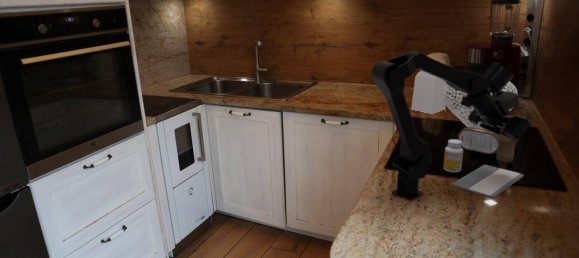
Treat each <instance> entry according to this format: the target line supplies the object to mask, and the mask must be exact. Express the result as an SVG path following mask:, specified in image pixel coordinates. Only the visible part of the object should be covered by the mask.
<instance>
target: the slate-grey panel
mask: <svg viewBox="0 0 579 258" xmlns="http://www.w3.org/2000/svg"><path fill="white" fill-rule="evenodd" d="M523 177H524V174H522V173H520V172H517V171H511V170H508V169H504V168H501V167H500V168H499V167H496V166H491V165H487V164H483V165H481V166H480V167H478V168H477V169H475V170H473V171H471V172H469V173H468V174H465V176H462V177H461V178H459V179H457V180H455V181H454V182H452V183H451V186H452V187H454V188H456V189H457V188H458V189H462V190H463V191H467V192H470V193H474V194H476V195H480V196H483V197H487V198H490V199H494V198H496V197H498V196H499V195H500V194H501V193H503V192H504V191H505V190H507V189H508V188H510V187H511V186H512V185H514V184H515V183H516V182H518V181H520V179H521V180H522V178H523Z"/></svg>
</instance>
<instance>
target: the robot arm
mask: <svg viewBox="0 0 579 258" xmlns="http://www.w3.org/2000/svg"><path fill="white" fill-rule="evenodd" d="M434 59H435V58H432V57H430V56H428V55H426V54H425V53H423V52H419V51H413V50H411V51H408V52H406V53H404V54H401V55H398V56H395V57H393V58H390V59H387V60H381V61H378V62H376V63H375V64H374V66H373V67H372V69H371V72H370V75H371V79H372V80H373V82H374V84H375V85H376V87H377V88H378V90H379V91H380V92H381V93H382V94H383V95H384V97H385V100H386V102H387V105H388V108H389V111H390V113H391V117H392V119H393V122H394V125H395V127H396V130H397V133H398V136H399V138H400V146H399V155H398V156H397V157H396V158H395V160H393V161H392V162H391V163H392V167H393V170H395V171H397V172H398V173H397V178H396V179H397V181H396V189H394V190H392V191H391V194H393V195H394V196H395V195H396V196H398V197H400V198H403V199H406V200H409V201H414V199H416V198H418V197H420V196H422V195H423V194H424V191H422V190H419V189H420V179H425V177H426V175H427V173H428V170H429V168H430V166H431V164H432V162H433V158H432V156H434V154H433V153H432V151H431V146H430V143H429V142H428V141H426V140H423V139H422V138H419V136H418V133H417V129H416V127H415V123H414V120H413V117H412V113H411V110H410V109H409V105H408V102H407V100H406V96H405V92H404V91H405V87H406V79H407V78H409V77H411V76H412V75H413V74H414V73H415V72H416V71H417V70H419V71H423V72H426V73H428V74H430V75H433V76H435V77H437V78H440V79H442V80H444V81H445V82H446V85H447V84H448V85H449V86H450V88H451V87H452V88H453V89H455V91H460V92H463V93H467V95H466V94H465V95H466V96H465V95H462V96H463V97H462V99H461V100H462V101H461V103H460V104H461V105H463V106H466V107H465V108H468V109H469V108H470V107H471V106H473V109H474V110H473V111H470V112H469V113H470V114H469V116H468V119H467V120H469V121H470V122H471V123H472V124H475V125H478V122H480V123H481V124H480V123H479V124H480V126H479V125H478V126H479V127H482V128H484V129H485V130H489V131H491V132H494V133H496V134H498V135H499V133H500V127H503V125H504V131H503V132H502V133H501V135H503V136H505V137H508V138H510V139H512V140H514V141H516V142H515V143H517V142H518V141H519V140H520V138H521V137H522V136H523V135H524V133H525V132H526V131H527V130H528V129H529V128H530V127H531V125H532V122H531V121H530V119H529V118H528V117H525V116H522V115H513V116H514V117H510V118H508V117H506V116H510V113H511V111H509V110H510V109H511V110H513V108H515V107H517V106H519V105H520V98H519V94H518V95H517V93H518V92H517V93H512V92H513V91H512V92H509V91H508V92H506V91H505V92H504V91H501V90H502V89H503V88H504V87H505V86H507V85H506V84H507V83H508V82H511V80H512V79H513V78H514V74H513V72H512V71H511V70H509V69H508V68H506V67H505V66H502V64H501V63H498V62H493V63H492V64H491V65H490V66H489V68H488V70H487V71H486V72H485V73H484V74H483V75H480V74H479V73H475V72H471V71H466V70H461V69H457V68H454V67H452V66H450V65H447V64H446V63H443V62H441V61H439V60H438V59H436V60H434ZM448 85H447V86H448ZM453 89H452V90H453ZM504 89H505V88H504ZM491 93H492V95H491ZM471 108H472V107H471ZM471 108H470V109H471ZM480 117H481V118H480ZM471 123H470V124H471ZM475 125H474V126H475Z"/></svg>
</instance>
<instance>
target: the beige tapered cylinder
mask: <svg viewBox="0 0 579 258" xmlns="http://www.w3.org/2000/svg"><path fill="white" fill-rule="evenodd" d="M514 116H515V115H506V117H508V118H510V117H514ZM503 131H504V125H503V127H500V133H499V141H498V149H497V152H496V157H495V158H496V160H497V161H499V162H506V163H510V162H511V163H512V162H513V161H514V155H515V148H516V147H515V146H516V143H517V142H516V141H514V140H512V139H510V138H508V137H505V136H503V135H501V133H502V132H503Z"/></svg>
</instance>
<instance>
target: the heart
mask: <svg viewBox="0 0 579 258" xmlns="http://www.w3.org/2000/svg"><path fill="white" fill-rule="evenodd" d="M445 91H446V93H445ZM503 91H504V92H512V93H517V95H518V96H519V94H518V89H517V87H516V86H515V85H514V84H513V83H512V82H511V81H509V82H508V83H507V84H506V86H505V87H504V88H503V89H502V90H501V92H503ZM449 93H450V94H449ZM490 94H491V95H492V93H490ZM466 95H467V93H464V92H460V91H457V90H455V89H453V88H452V87H450V86H449V85H448V84H447V83H446V86H445V88H444V91H443V99H444V102H445V104H446V106H445V107H446V108H448V110H449V111H450V112H451V113H452V114H453V115H454V116H455V117H456V118H457V119H459V120H460V122H461V123H463V125H465V126H466V127H474V128H479V129H484V128H482V127H480V124H481V123H480V122H478V125H475V124H472V123H471V122H470V121H469V120H468V116H469V114H470V113H471V112H472V111H473V110H474V108H473V106H471V107H470V108H469V107H466V106H463V105H461V101H462V99H463V98H462V97H463V96H466ZM454 103H455V104H454ZM509 111H510V112H511V111H512V109H510V110H509ZM480 118H481V117H480Z"/></svg>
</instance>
